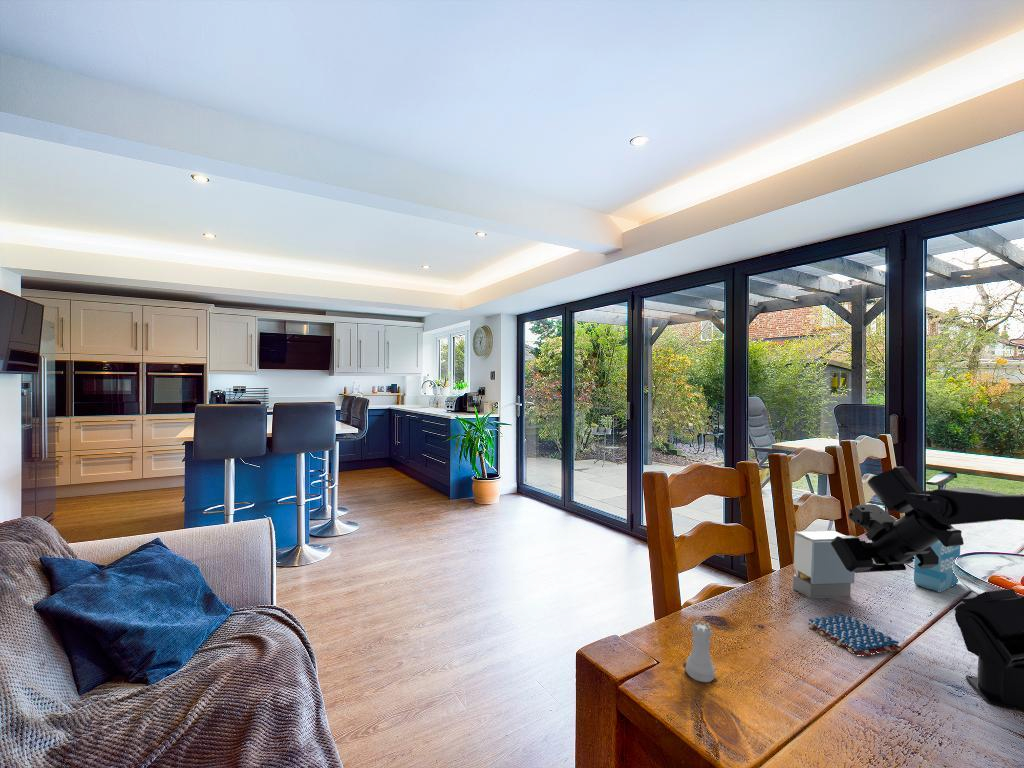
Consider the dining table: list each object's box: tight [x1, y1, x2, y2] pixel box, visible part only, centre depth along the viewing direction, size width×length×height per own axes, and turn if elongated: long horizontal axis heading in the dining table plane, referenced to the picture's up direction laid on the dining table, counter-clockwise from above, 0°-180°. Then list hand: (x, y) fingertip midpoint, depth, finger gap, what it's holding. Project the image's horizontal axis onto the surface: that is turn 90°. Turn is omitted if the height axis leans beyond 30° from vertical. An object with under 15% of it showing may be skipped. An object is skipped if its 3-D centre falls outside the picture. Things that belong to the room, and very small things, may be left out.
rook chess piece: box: [685, 620, 716, 683], centre depth 73 cm, size 4×4×8 cm
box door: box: [811, 541, 856, 584], centre depth 100 cm, size 1×10×9 cm, turn 97°
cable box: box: [792, 530, 852, 600], centre depth 103 cm, size 5×10×13 cm, turn 99°
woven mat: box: [807, 613, 902, 657], centre depth 85 cm, size 10×11×2 cm
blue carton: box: [913, 541, 961, 593], centre depth 109 cm, size 12×4×12 cm, turn 119°
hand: (856, 570), depth 94 cm, fingers closed
